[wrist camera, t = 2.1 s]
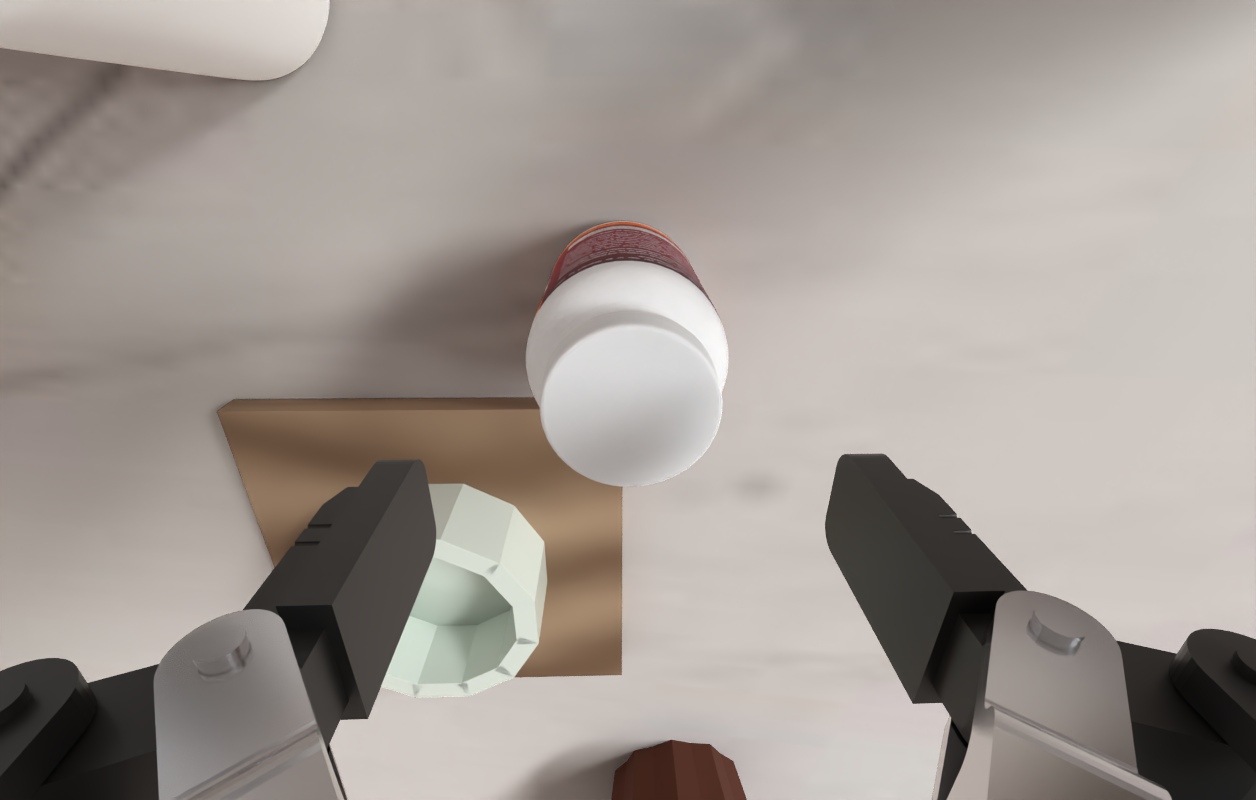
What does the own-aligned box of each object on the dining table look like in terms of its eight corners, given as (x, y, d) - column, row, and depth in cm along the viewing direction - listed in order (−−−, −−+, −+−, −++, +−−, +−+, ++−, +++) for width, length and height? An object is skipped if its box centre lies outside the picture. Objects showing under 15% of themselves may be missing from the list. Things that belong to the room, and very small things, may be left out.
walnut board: (233, 399, 25) (216, 411, 24) (622, 397, 26) (622, 409, 25) (326, 663, 33) (316, 681, 32) (621, 657, 34) (621, 674, 33)
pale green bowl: (329, 485, 26) (284, 541, 22) (539, 482, 26) (528, 538, 23) (371, 632, 31) (340, 699, 27) (551, 629, 31) (543, 694, 27)
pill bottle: (526, 250, 23) (461, 343, 13) (666, 194, 22) (713, 248, 12) (583, 377, 25) (566, 536, 15) (710, 332, 24) (778, 469, 15)
